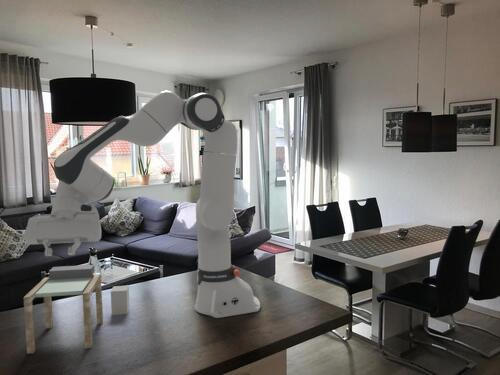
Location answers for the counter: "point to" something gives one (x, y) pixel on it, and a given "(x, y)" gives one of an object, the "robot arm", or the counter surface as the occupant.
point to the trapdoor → (67, 281)
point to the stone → (120, 300)
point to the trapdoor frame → (49, 317)
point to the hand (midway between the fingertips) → (59, 254)
